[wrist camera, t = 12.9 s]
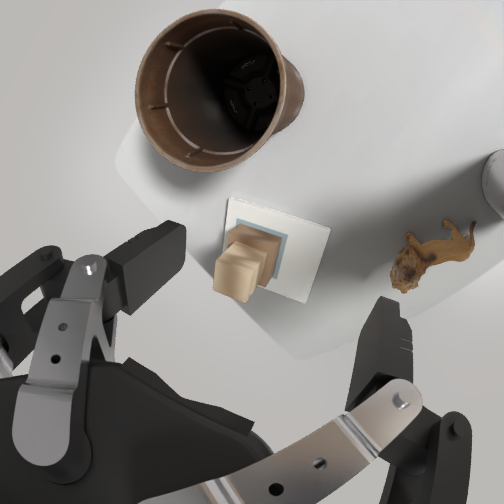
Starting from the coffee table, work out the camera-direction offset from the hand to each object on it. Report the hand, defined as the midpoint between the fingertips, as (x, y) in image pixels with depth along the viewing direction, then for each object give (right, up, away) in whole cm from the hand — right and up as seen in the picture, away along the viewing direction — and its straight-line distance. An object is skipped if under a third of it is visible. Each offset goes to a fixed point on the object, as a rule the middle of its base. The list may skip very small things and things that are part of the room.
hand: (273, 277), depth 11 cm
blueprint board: (+2, +1, +35) cm, 36 cm away
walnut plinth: (0, +1, +35) cm, 35 cm away
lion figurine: (+25, +3, +24) cm, 35 cm away
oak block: (-1, 0, +32) cm, 32 cm away
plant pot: (0, +23, +25) cm, 34 cm away
